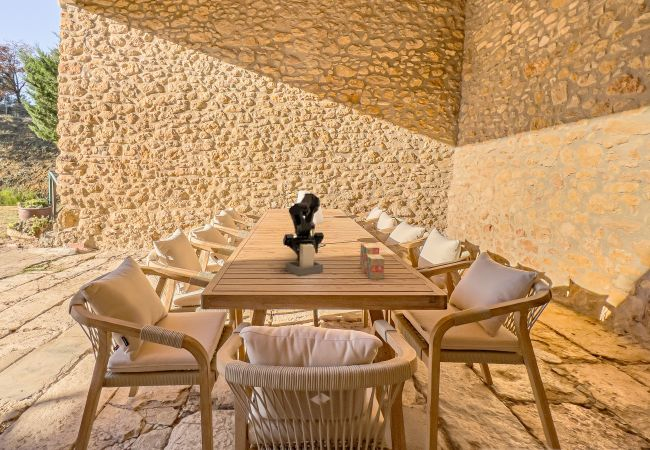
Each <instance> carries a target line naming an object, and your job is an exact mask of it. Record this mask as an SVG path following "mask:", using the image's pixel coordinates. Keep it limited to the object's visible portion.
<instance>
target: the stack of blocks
mask: <svg viewBox="0 0 650 450" xmlns="http://www.w3.org/2000/svg"><path fill="white" fill-rule="evenodd" d="M359 264H360V265H359V266H360V269H361V270H362V271H363V272H364V274H366V276H367V277H368V278H369V279H371V280H374V279H375V280H377V279H378V280H381V279H384V275H385V274H384V272H385V269H384V268H385V258H384V257H383V256H382V255H381V254H380V247H379V246H377V244H375V243H374V242H363V243H362V242H360V260H359Z"/></svg>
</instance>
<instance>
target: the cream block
mask: <svg viewBox="0 0 650 450" xmlns="http://www.w3.org/2000/svg"><path fill="white" fill-rule="evenodd" d="M314 252H315V249H314V245H312V244H300V268H303V267H309V266H314V262H315V260H314V259H315V258H314Z"/></svg>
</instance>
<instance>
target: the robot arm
mask: <svg viewBox="0 0 650 450" xmlns="http://www.w3.org/2000/svg"><path fill="white" fill-rule="evenodd" d="M320 207H321V199H320V197H318V196H316V195H315V193H311V192H310V193H308V192H306V193H304V195H303V197H302V199H301V201H299V202H297V203H294V204H293V205H291V206H290V207H289V208H288V212H289V213H288V214H289V216H290V219H291V221H292V224H293V228H294V233H286V234H285V235H284V237H283V239H282V242H283V246H286V247H288V248H289V249H290V250H292V251H293V252H294V253H295V255H296V256H297V257H296V259H295V260H296V261H300V244H312V245H314V252H315V254H318V252H319V245H320V244H321V243H322V242H323V239H324V238H325V235H324V233H323V232H320V231H319V232H314V233H313V235H312V234H311V231H313V230H315V228H316V224H315V222H314V217H315V214H316V213H317V212H318V211H319V208H320ZM294 234H295V236H294Z"/></svg>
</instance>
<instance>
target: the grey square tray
mask: <svg viewBox="0 0 650 450" xmlns="http://www.w3.org/2000/svg"><path fill="white" fill-rule="evenodd" d="M284 264H285V271H287V272H289V273H292V274H294V275H295V276H296V275H297V276H298V277H303V276H309V275H313V274H315V275H316V274H319V273H320V274H321V273H324V265H323V264H322V263H318V262H316V261H314V266H309V267H303V268H300V261H299V260H296V261H295V260H294V261H290V262H289V261H288V262H285V263H284Z"/></svg>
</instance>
